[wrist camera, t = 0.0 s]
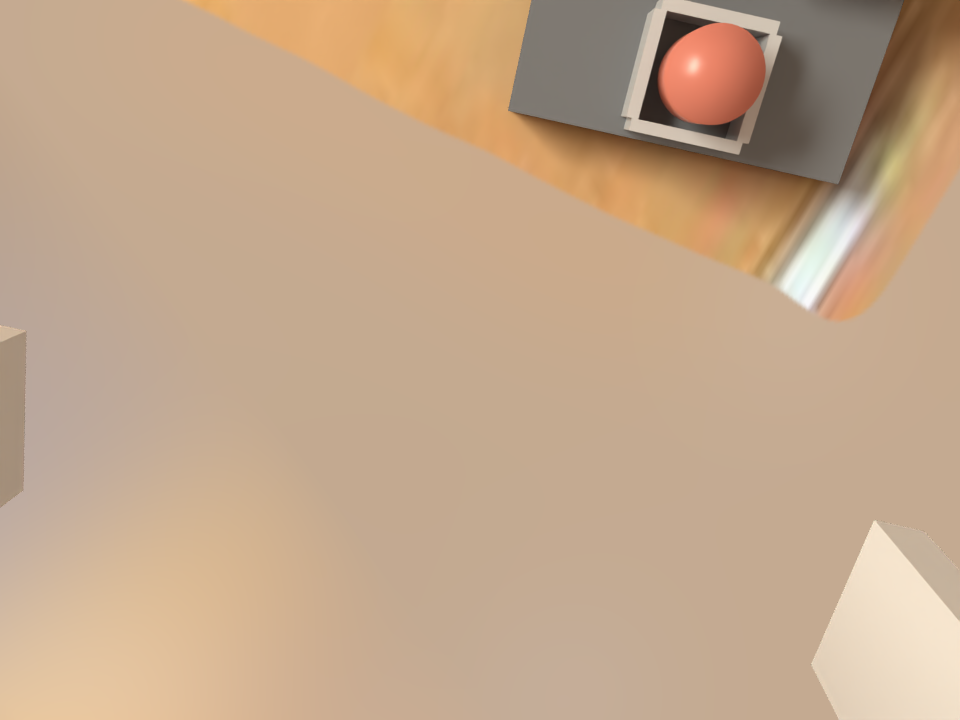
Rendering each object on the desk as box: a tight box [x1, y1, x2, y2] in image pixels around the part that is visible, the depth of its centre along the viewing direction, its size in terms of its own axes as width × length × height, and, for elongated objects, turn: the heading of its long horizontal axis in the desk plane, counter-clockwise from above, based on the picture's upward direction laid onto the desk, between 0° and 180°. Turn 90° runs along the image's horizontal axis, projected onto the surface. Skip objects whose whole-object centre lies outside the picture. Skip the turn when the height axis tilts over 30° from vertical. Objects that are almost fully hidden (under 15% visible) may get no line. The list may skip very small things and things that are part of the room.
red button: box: [657, 23, 766, 125], centre depth 30 cm, size 4×4×2 cm
